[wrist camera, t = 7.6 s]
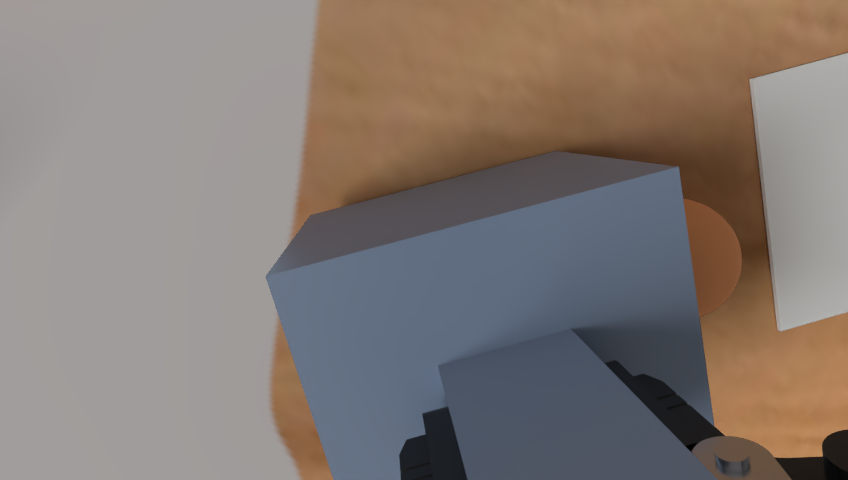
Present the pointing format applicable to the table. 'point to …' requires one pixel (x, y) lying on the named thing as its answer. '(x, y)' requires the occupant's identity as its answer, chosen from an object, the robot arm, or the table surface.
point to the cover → (501, 321)
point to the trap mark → (805, 186)
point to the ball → (712, 255)
